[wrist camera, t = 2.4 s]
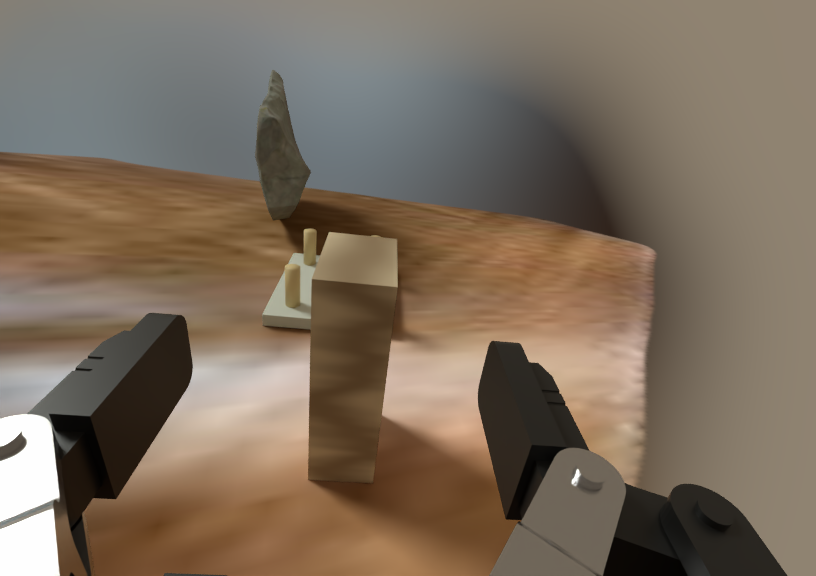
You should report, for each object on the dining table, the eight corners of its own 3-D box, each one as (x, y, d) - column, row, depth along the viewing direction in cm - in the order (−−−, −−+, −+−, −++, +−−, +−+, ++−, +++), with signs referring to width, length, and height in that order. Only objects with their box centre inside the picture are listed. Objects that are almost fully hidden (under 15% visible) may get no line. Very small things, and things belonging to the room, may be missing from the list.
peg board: (262, 325, 40) (260, 276, 37) (293, 261, 52) (293, 221, 50) (390, 336, 41) (396, 289, 38) (391, 271, 53) (396, 232, 51)
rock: (312, 256, 54) (315, 82, 45) (260, 257, 52) (251, 75, 43) (292, 192, 76) (291, 67, 66) (255, 192, 74) (248, 62, 64)
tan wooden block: (308, 479, 26) (311, 278, 20) (322, 408, 32) (329, 231, 25) (373, 483, 27) (397, 287, 20) (376, 412, 32) (397, 239, 25)
